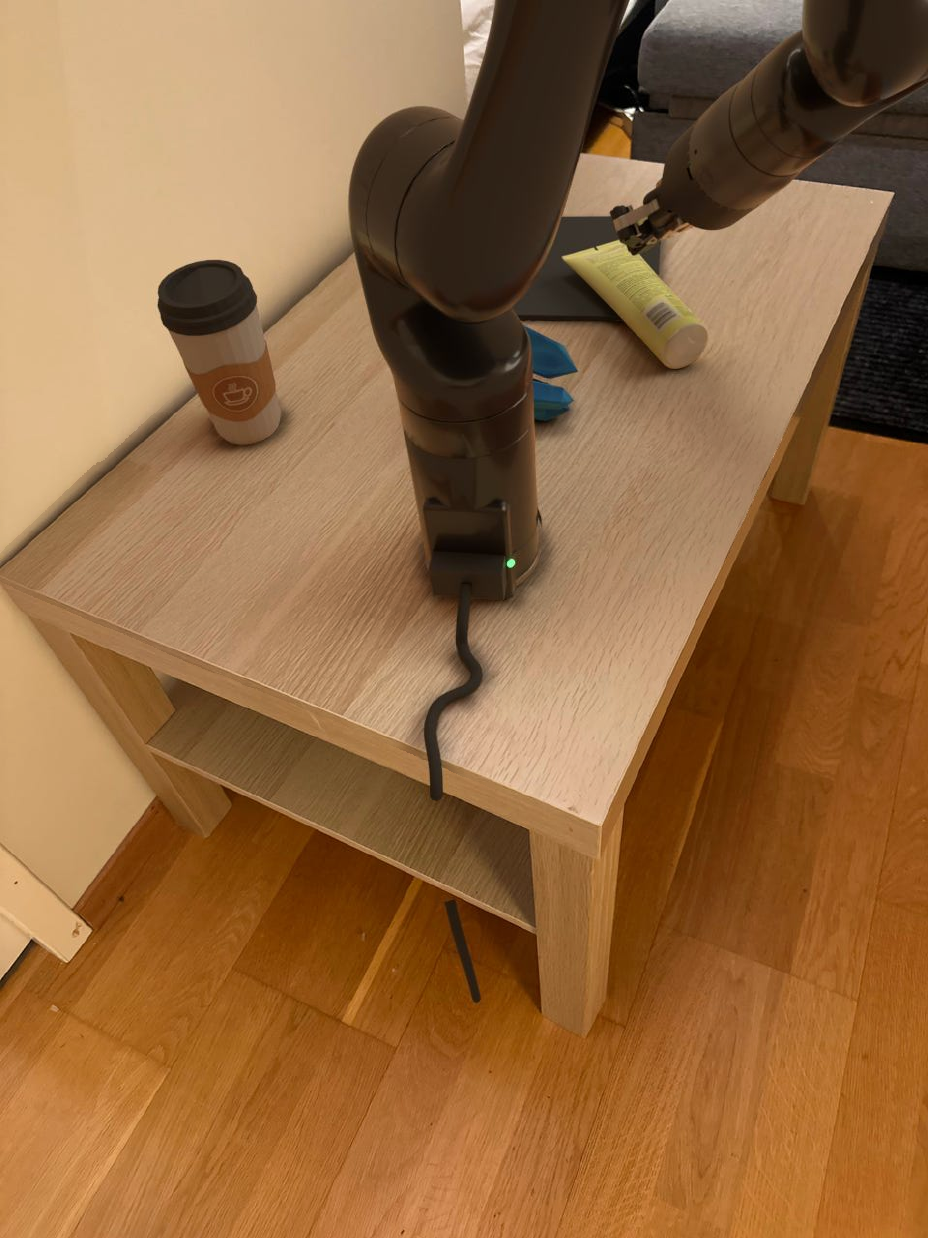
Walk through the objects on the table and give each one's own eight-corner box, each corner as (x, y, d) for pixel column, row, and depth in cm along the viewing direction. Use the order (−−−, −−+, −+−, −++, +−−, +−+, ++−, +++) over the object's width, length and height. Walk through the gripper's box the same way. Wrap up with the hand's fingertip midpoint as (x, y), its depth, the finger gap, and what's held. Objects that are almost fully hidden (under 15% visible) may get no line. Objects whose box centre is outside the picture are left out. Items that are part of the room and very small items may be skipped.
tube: (688, 379, 87) (595, 277, 98) (724, 336, 84) (625, 236, 96) (652, 360, 83) (560, 257, 95) (689, 315, 81) (590, 214, 92)
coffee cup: (211, 462, 83) (153, 320, 72) (203, 409, 89) (148, 269, 77) (298, 440, 84) (255, 297, 72) (286, 389, 89) (244, 247, 78)
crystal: (573, 384, 75) (446, 329, 77) (552, 455, 82) (437, 403, 84) (605, 334, 79) (483, 283, 81) (582, 406, 86) (471, 358, 88)
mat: (656, 321, 91) (656, 316, 90) (444, 318, 95) (443, 313, 94) (661, 220, 103) (661, 215, 102) (472, 221, 107) (472, 216, 106)
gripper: (798, 75, 64) (682, 180, 81) (641, 126, 62) (555, 224, 78) (831, 178, 65) (710, 260, 82) (678, 233, 63) (585, 306, 79)
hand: (634, 242), depth 80 cm, fingers closed
